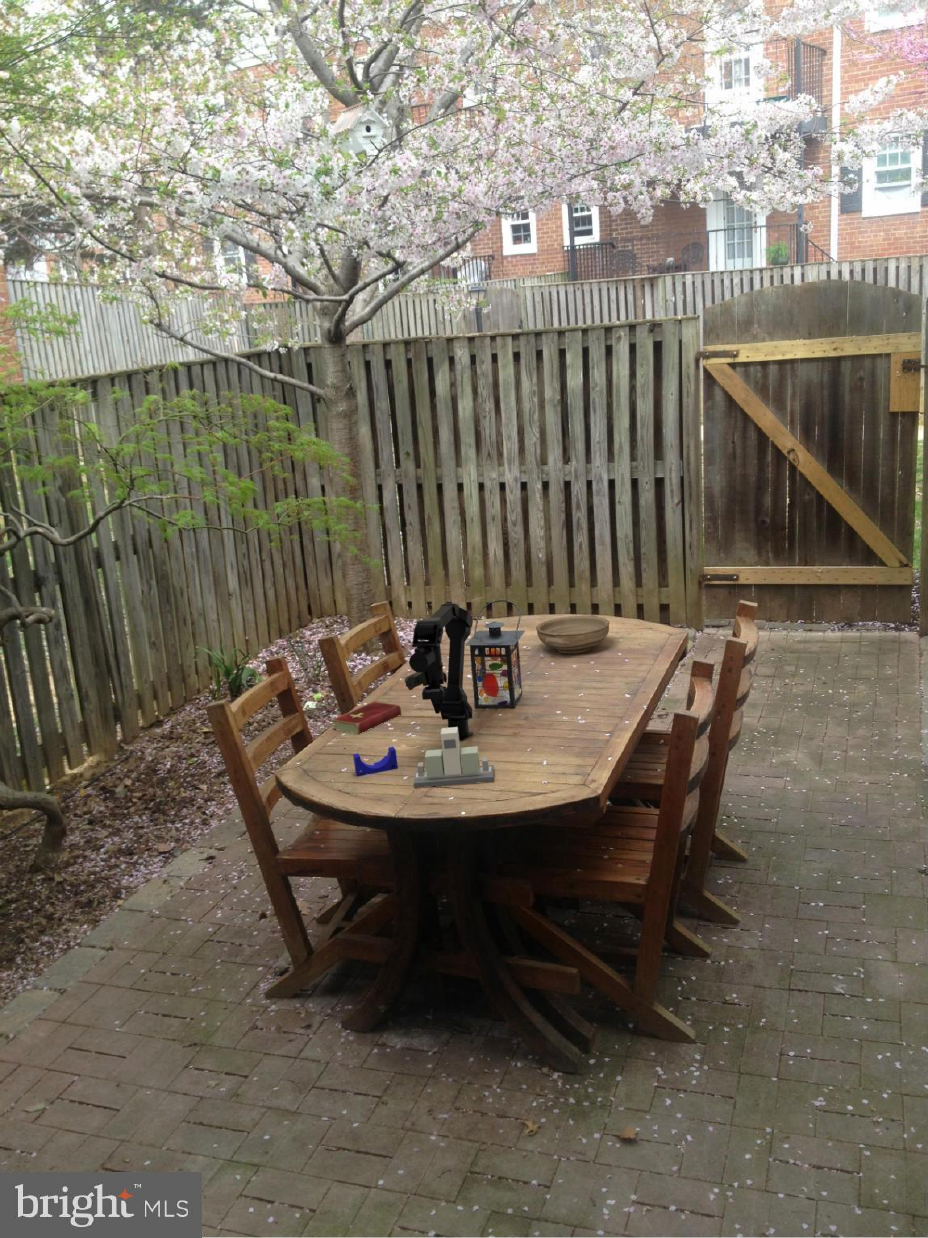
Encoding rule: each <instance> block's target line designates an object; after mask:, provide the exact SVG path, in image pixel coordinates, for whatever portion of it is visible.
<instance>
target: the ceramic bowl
mask: <svg viewBox="0 0 928 1238" xmlns="http://www.w3.org/2000/svg"><path fill="white" fill-rule="evenodd" d="M535 630H536V634H537V637H538V639H539V641H540V642H541V643H543V644H544V645H545V646H546V647H550V648H552V649H555V650H556V649H557V652H559V653H561V654H567V653H574V654H581V653H585V652H588V651H590V650H591V649H592V647H594V646H595V645H597V644H601V642H603V641H604V640H605V639H606V638H607V636H608V634H609V632H610V621H609V620H608V619H607V618H604V617H601V616H597V615H595V614H593V615H572V616H562V617H558V618H557V617H556V618H551V619H548V620H545V621H543V622H540V623H539V624H537V625H536V627H535Z"/></svg>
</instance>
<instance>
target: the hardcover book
mask: <svg viewBox="0 0 928 1238" xmlns="http://www.w3.org/2000/svg"><path fill="white" fill-rule="evenodd" d="M398 715H400V716H402V707H401V705H400V704H394V703H390V702H389V703H388V702H382V701H381V702H380V701H377V700H376V701H375V700H374V701H372V702H370V703H367V704H365V705H362V706H360V707H358V708H355V709H353V710H351V711H349V712H347V713H344V714H342V715H340V716H337V717H335V718H333V719H330V721H331V722H332V724H333V725H332V726H333V729H334V728H336V729H339V730H342V731H341V732H343V731H345V732H344V733H348V732H353V733H352V734H354V733H357V734H356V735H358V736H359V735H361V734H360V733H362V732H364V733H365V731H366V732H368V731H369V730H368V729H370V728H372V729H374V728H376V727H375V726H377V725H379V724H381V723H383V724H385V723H387V722H389V721H391V720H390V719H392V720H393V718H394V719H396V718H398V717H399V716H398ZM397 716H398V717H397ZM395 717H396V718H395ZM388 720H389V721H388ZM386 721H387V722H386ZM337 722H338V723H337ZM384 722H385V723H384ZM334 724H335V725H334ZM381 725H382V724H381ZM379 726H380V725H379ZM377 727H378V726H377ZM367 730H368V731H367ZM370 730H371V729H370ZM362 734H363V733H362Z"/></svg>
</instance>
